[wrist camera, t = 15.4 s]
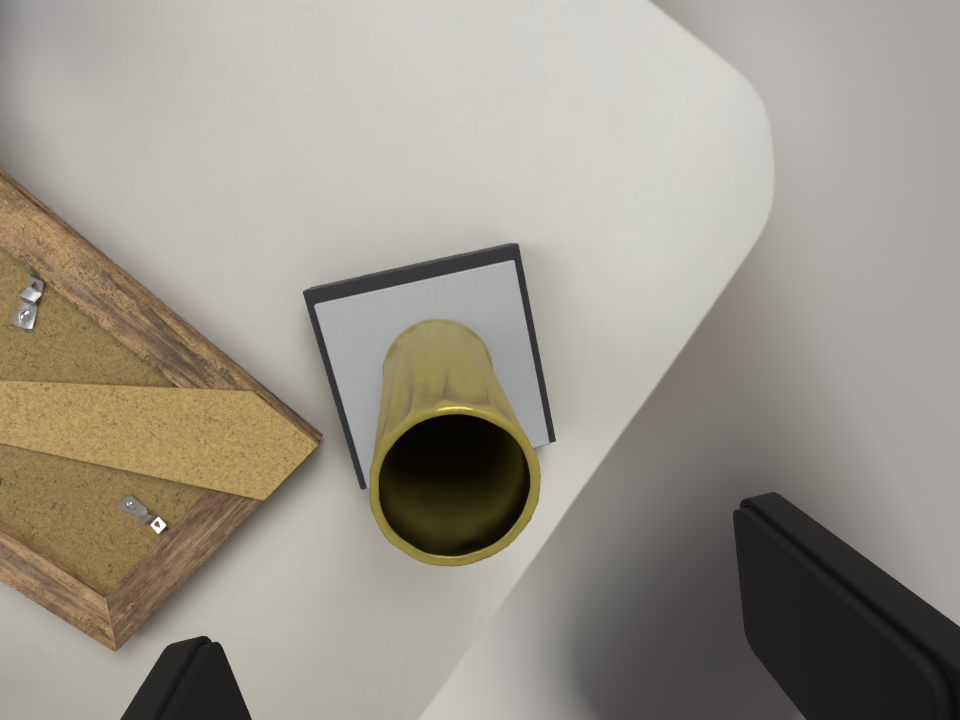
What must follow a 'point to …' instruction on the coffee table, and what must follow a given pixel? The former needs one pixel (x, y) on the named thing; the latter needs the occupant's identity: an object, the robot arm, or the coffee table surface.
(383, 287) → the scale
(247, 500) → the picture frame
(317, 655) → the coffee table surface
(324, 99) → the coffee table surface
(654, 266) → the coffee table surface
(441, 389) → the vase
